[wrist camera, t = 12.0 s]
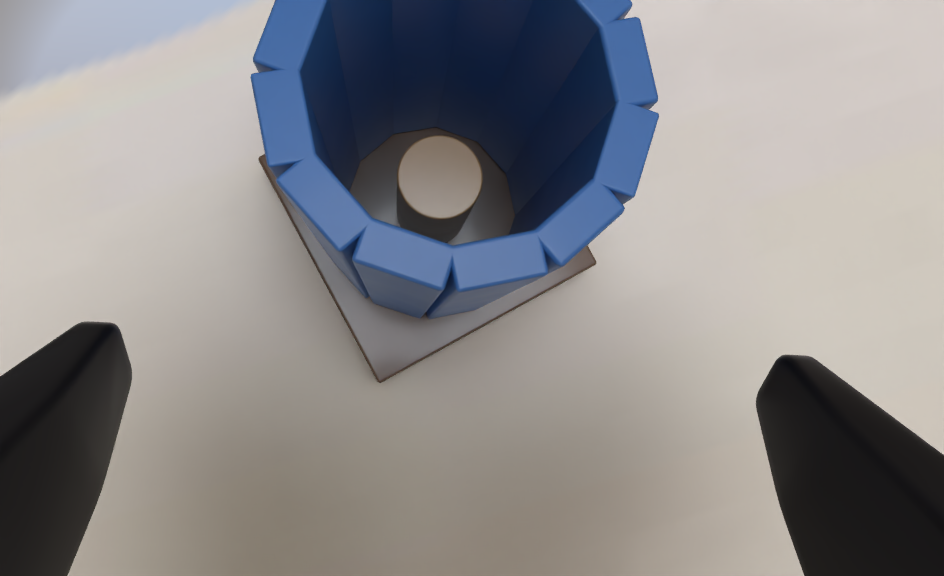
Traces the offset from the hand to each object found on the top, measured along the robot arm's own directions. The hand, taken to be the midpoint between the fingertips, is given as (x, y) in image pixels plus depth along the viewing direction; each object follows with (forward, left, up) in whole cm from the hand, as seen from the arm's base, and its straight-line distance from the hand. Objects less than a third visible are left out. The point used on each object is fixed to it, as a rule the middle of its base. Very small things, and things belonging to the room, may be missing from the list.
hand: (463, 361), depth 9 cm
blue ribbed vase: (+5, +1, -12) cm, 13 cm away
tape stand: (+5, +1, -13) cm, 14 cm away
